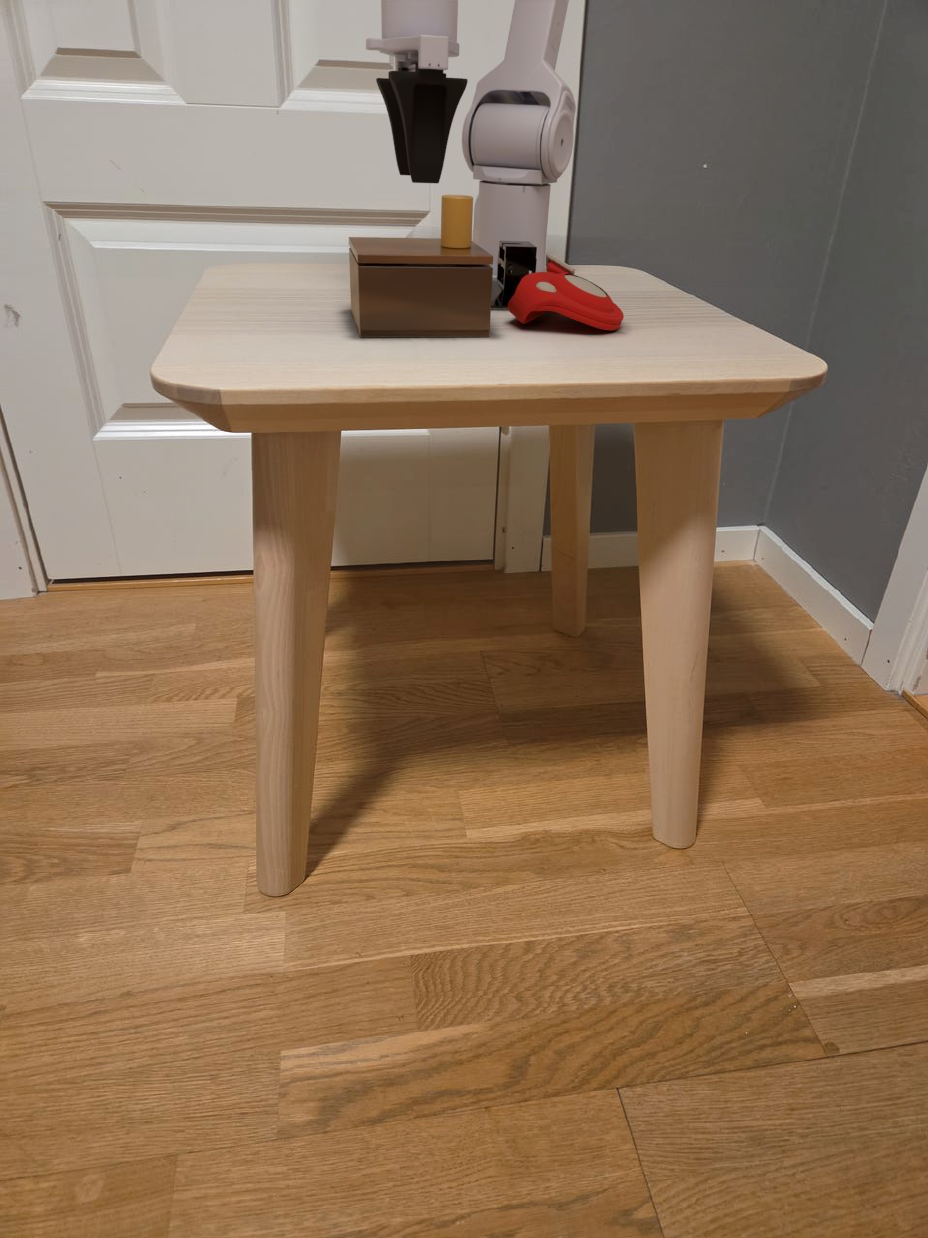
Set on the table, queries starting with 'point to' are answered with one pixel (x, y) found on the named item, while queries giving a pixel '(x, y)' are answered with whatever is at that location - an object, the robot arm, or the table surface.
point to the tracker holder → (564, 297)
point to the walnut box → (420, 299)
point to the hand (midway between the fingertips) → (418, 178)
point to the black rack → (511, 270)
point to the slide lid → (429, 241)
